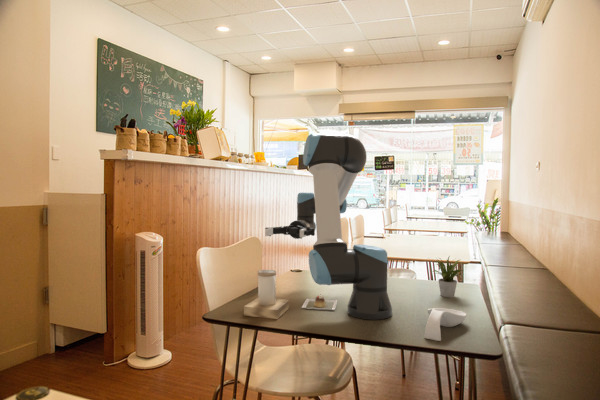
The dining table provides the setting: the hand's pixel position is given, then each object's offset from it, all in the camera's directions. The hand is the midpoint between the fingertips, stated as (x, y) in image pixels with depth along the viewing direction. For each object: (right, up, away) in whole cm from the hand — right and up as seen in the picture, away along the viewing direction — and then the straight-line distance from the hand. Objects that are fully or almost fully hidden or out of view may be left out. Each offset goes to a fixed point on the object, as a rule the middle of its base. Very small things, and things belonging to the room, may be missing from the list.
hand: (283, 233), depth 151 cm
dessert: (+14, -27, -2) cm, 30 cm away
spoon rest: (+50, -28, -26) cm, 63 cm away
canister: (-5, -23, -11) cm, 26 cm away
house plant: (+64, -26, +12) cm, 71 cm away
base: (-5, -26, -11) cm, 29 cm away
